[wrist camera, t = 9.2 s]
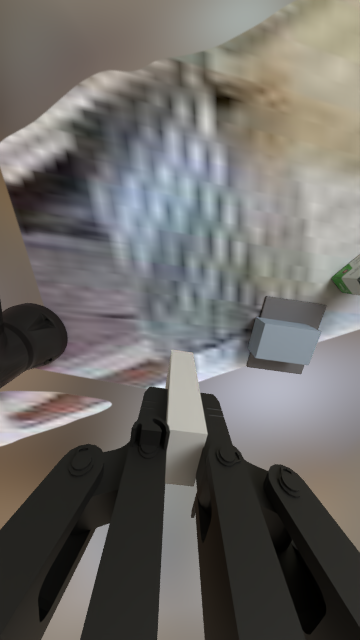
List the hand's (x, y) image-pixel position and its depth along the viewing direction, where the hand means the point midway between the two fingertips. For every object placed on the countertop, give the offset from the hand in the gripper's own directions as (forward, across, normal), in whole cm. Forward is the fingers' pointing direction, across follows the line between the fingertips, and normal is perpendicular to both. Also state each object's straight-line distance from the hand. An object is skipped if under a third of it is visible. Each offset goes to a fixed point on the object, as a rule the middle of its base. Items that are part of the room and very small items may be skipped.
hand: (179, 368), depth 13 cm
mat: (+30, +27, -5) cm, 41 cm away
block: (+27, +19, -5) cm, 33 cm away
